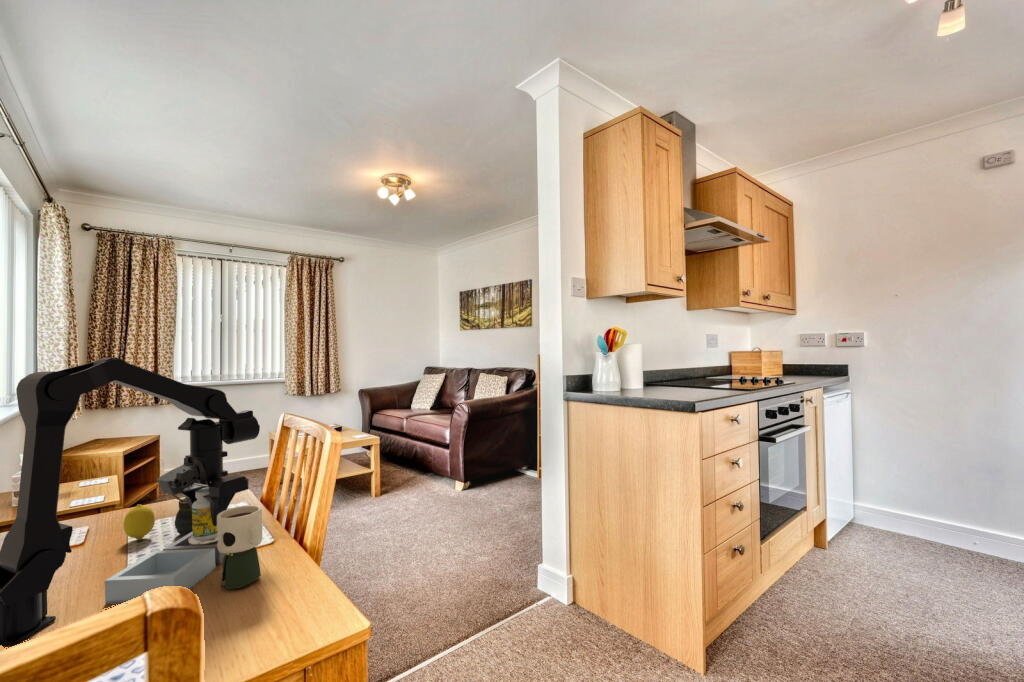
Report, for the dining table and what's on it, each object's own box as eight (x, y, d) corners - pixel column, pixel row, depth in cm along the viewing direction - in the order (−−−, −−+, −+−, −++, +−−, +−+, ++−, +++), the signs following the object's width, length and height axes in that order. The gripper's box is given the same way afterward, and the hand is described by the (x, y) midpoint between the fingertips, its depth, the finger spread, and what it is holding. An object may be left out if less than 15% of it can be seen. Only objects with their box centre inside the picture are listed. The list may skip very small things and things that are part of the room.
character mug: (205, 584, 84) (203, 512, 84) (245, 568, 90) (243, 500, 90) (236, 600, 78) (235, 523, 78) (277, 581, 84) (275, 510, 84)
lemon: (128, 537, 106) (127, 503, 106) (158, 533, 109) (157, 499, 109) (120, 546, 101) (119, 510, 101) (151, 541, 104) (150, 506, 104)
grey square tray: (219, 564, 91) (219, 543, 91) (163, 567, 91) (162, 545, 91) (249, 541, 102) (249, 522, 102) (199, 543, 102) (198, 524, 102)
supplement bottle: (229, 531, 99) (228, 486, 99) (208, 541, 94) (208, 493, 94) (207, 530, 100) (206, 485, 100) (185, 540, 94) (185, 493, 95)
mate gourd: (218, 530, 110) (217, 488, 110) (182, 542, 103) (181, 497, 103) (203, 524, 113) (202, 484, 114) (167, 535, 107) (166, 492, 107)
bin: (174, 601, 78) (173, 577, 78) (105, 604, 78) (104, 580, 78) (215, 568, 90) (214, 548, 90) (155, 571, 89) (154, 550, 89)
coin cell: (215, 552, 93) (215, 541, 93) (180, 554, 93) (180, 543, 93) (235, 538, 100) (235, 528, 100) (202, 539, 100) (202, 529, 100)
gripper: (137, 453, 94) (138, 531, 93) (193, 461, 86) (195, 545, 85) (194, 443, 104) (195, 512, 103) (249, 448, 96) (251, 524, 96)
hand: (207, 523), depth 97 cm, fingers closed on supplement bottle, 5 cm apart
